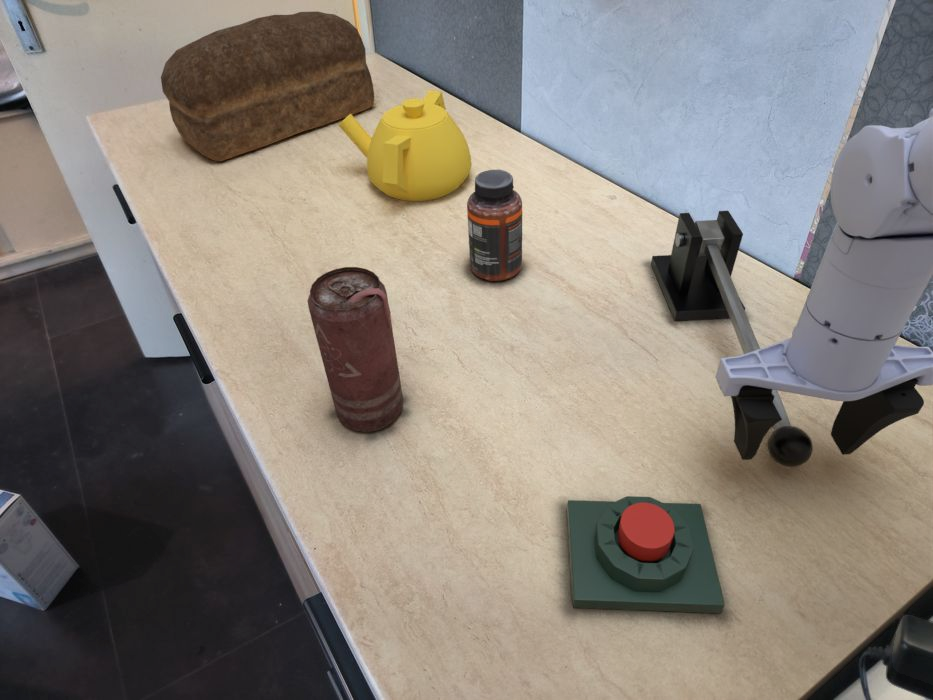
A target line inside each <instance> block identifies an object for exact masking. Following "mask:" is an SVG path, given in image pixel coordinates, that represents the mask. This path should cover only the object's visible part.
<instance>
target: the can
mask: <svg viewBox="0 0 933 700" xmlns="http://www.w3.org/2000/svg"><path fill="white" fill-rule="evenodd" d="M307 306H308V307H307V308H308V311H309V314H310V319H311V322H312V326H313V330H314V334H315V338H316V341H317V345H318V350H319V353H320V357H321V360H322V363H323V364H322V365H323V369H324V373H325V376H326V379H327V384H328V386H329V391H330V394H331V395H330V396H331V399H332V403H333V406H334V410H335V414H336V417H337V418H338V420H339V421H340V422H341V423H342V424H343V425H344V426H346V427H347V428H349V429H350V430H352V431H353V430H354V431H357V432H361V433H366V432H368V433H369V432H370V433H371V432H376V431H380V430H383V429H384V428H386V427H388V426H390V425H391V424H392V423H393V422H394V421H396V420H397V418H398V417H399V415H400V414H401V412H402V410H403V405H404V396H403V389H402V383H401V382H402V381H401V377H400V370H399V363H398V356H397V350H396V344H395V343H396V342H395V337H394V332H393V324H392V317H391V309H390V305H389V298H388V292H387V288H386V286H385V284H384V283H383V282H382V280H380V278H379V276H378V275H377V274H376V273H375V272H374V271H372V270H369V269H367V268H364V267H360V266H344V267H339V268H335V269H332V270H329V271H326V272H325V273H323V274H322V275H320V276H319V277H317V278H316V279H315V280H314V281H313V283H312V284H311V286H310V290H309V295H308V298H307Z"/></svg>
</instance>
